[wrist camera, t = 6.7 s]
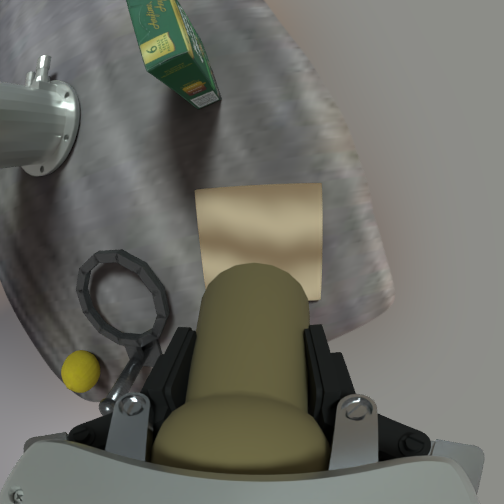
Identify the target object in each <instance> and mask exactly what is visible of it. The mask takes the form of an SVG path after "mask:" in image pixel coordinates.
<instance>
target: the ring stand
mask: <svg viewBox="0 0 504 504" xmlns="http://www.w3.org/2000/svg"><path fill="white" fill-rule="evenodd" d="M113 262H117V263H119V264H120V265H122V266H124V267H126V268H127V269H129V270H131V271H133V272H135V273H136V274H138V276H139V277H140V279H141V280H142V281H143V283H144V284H145V285H146V286H147V288H148V289H149V290H150V292H151V293H152V295H153V300H154V304H155V309H156V313H157V317H156V320H155V323H154V326H153V328H152V329H150V330H148V331H146V332H145V333H143V334H132V333H122V332H120V331H118V330H117V329H115V328H113V327H112V326H110V325H108V324H107V323H106V322H105V321H104V320H103V319H102V317H101V316H100V315H99V314H98V312H97V311H96V310H95V308H94V307H93V304H92V301H91V297H90V294H89V290H88V284H89V279H90V274H91V270H92V269H93V268H94V267H95V266H97V265H98V264H99V263H113ZM76 291H77V294H78V298H79V301H80V304H81V307H82V310H83V313H84V314H85V316H86V317H87V318H88V320H89V321H90V322H91V323H92V325H93V326H94V327H95V328H96V330H97V331H98V332H99V333H100V334H102V335H104V336H105V337H107V338H109V339H110V340H112V341H114V342H115V343H117V344H119V345H125V348H126V351H127V353H128V356H129V359H130V360H129V362H128V363H127V365H126V367H125V368H124V370H123V371H122V373H121V375H120V376H119V378H118V379H117V381H116V383H115V384H114V386H113V387H112V389H111V391H110V392H109V394H108V396H107V397H106V398H105V399H103V400H101V402H100V404H99V410H100V412H101V414H102V415H103V416H104V415H107V414H109V413H112V412H113V410H114V406H115V403H116V401H117V400H118V399H119V398H120V397H121V396H123V395H124V394H127V393H128V392H129V390H130V388H131V386H132V385H133V383H134V381H135V379H136V377H137V376H138V374H139V372H140V370H141V369H142V367H143V366H150V367H154V365H155V363H156V361H157V359H158V357H159V356H160V355H161V354H162V351H161V348H160V345H159V341H158V338H159V337H160V335H161V333H162V331H163V328H164V326H165V323H166V320H167V318H168V315H169V313H170V312H169V307H168V302H167V297H166V293H165V287H164V286H163V284H162V283H161V282H160V280H159V279H158V278H157V276H156V275H155V274H154V272H153V271H152V270H151V268H150V267H149V265H148V264H147V263H146V262H144V261H142V260H140V259H139V258H137V257H135V256H133V255H131V254H129V253H128V252H126V251H124V250H123V249H122V250H105V251H98V252H97V253H95V254H94V255H93V256H92V257H91V258H89V259H88V260H87V261H86V262H85V263H84V264H83V265H82V266H81V267H80V268H79V274H78V281H77V287H76Z"/></svg>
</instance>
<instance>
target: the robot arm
mask: <svg viewBox="0 0 504 504" xmlns="http://www.w3.org/2000/svg"><path fill="white" fill-rule="evenodd" d="M50 61H51V57H50V56H48V55H45V56H41V57H39V58H38V61H37V67H36V73H35V72H29V73H27V75H26V86H23V85H18V84H12V83H6V82H0V169H3V168H11V167H18V166H22V168H23V169H24V170H25V171H26V173H28V174H30V175H32V176H44V175H48V174H50V173H52V172H54V171H55V170H56V169H57V168H58V167H60V165H61V164H62V163H63V162H64V160H65V159H66V157H67V156H68V154H69V152H70V150H71V148H72V146H73V144H74V141H75V138H76V135H77V131H78V126H79V118H80V107H79V101H78V96H77V94H76V92H75V90H74V89H73V88H72V86H71V85H69V84H68V83H66V82H62V81H57V80H54V81H50V77H49V76H48V70H49V68H50ZM35 74H36V78H35ZM196 338H197V334H196V331H192V329H191V328H190V327H178V328H177V330H176V332H175V334H174V336H173V338H172V340H171V342H170V344H169V346H168V348H167V350H166V352H165V354H161V355H160V356H159V357H158V359H157V361H156V363H155V365H154V367H153V369H152V371H151V373H150V375H149V376H148V378H147V380H146V382H145V384H144V386H143V388H142V390H141V392H140V393H139V392H131V393H127V394H124V395H123V396H121V397H120V398H119V399H118V400H117V401H116V403H115V406H114V410H113V412H112V413H109V414H107V415H104V416H102V417H99V418H97V419H94V420H92V421H89V422H86V423H83V424H80V425H78V426H76V427H74V428H73V429H72V430H71V431H70V433H69V434H67V433H66V432H63V433H57V434H51V435H45V436H38V437H33V438H30V439H29V440H27V441H26V443H25V445H24V454H23V455H22V456H21V458H20V459H19V461H18V462H17V463H16V465H15V467H14V468H13V470H12V472H11V473H10V475H9V477H8V478H7V480H6V482H5V484H4V486H3V488H2V490H1V492H0V504H480V502H479V500H478V497H477V492H478V487H479V483H480V479H481V474H482V469H483V464H484V453H483V451H482V450H481V449H480V448H479V447H477V446H474V445H467V444H461V443H454V442H449V441H443V440H438V439H436V441H430V439H429V437H428V436H427V435H426V434H425V433H423V432H421V431H418V430H416V429H413V428H411V427H408V426H406V425H403V424H401V423H399V422H396V421H394V420H391V419H389V418H387V417H385V416H382V415H380V414H378V413H377V405H376V403H375V402H374V400H372V399H371V398H370V397H368V396H365V395H362V394H356V393H355V391H354V387H353V384H352V381H351V378H350V376H349V372H348V370H347V366H346V364H345V361H344V359H343V355H342V353H341V352H336V353H330V350H329V346H328V343H327V339H326V336H325V333H324V330H323V327H322V325H321V324H319V325H309V326H308V329H304V342H305V350H306V359H307V368H308V414H309V415H311V416H312V417H313V418H314V419H315V421H316V422H317V424H318V425H319V426H320V428H321V429H322V431H323V433H324V435H325V437H326V438H327V440H328V442H329V445H330V455H329V462H328V468H327V471H321V472H311V473H300V474H281V475H242V474H224V473H212V472H203V471H195V470H187V469H181V468H175V467H169V466H164V465H158V464H154V463H151V451H152V446H153V443H154V441H155V438H156V436H157V434H158V432H159V430H160V428H161V426H162V424H163V423H164V421H165V420H166V419H167V418H168V416H169V415H170V414H171V413H172V411H174V410H176V409H177V408H179V407H180V406H182V405H184V404H185V401H186V394H187V387H188V380H189V373H190V366H191V360H192V356H193V351H194V347H195V342H196Z"/></svg>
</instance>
